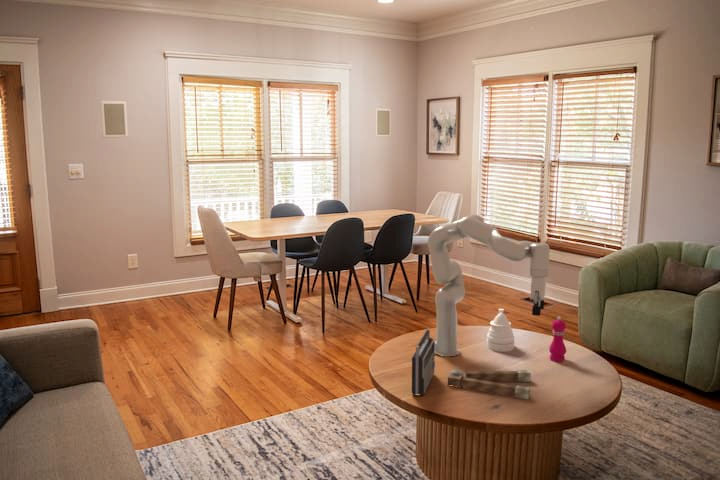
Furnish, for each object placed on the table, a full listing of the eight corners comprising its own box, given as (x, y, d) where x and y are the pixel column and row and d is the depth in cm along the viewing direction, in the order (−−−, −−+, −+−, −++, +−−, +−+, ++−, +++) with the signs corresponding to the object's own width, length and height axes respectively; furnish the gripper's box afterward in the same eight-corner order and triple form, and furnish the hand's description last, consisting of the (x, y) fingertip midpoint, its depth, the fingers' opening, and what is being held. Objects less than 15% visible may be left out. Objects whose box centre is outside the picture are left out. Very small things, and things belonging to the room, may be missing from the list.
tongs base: (446, 385, 246) (446, 376, 245) (452, 377, 253) (452, 368, 252) (528, 399, 232) (528, 389, 231) (531, 391, 239) (532, 382, 238)
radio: (425, 397, 235) (425, 348, 231) (411, 395, 236) (412, 347, 233) (436, 373, 258) (436, 328, 254) (423, 372, 259) (424, 327, 256)
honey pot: (485, 341, 296) (486, 306, 293) (512, 342, 294) (513, 307, 291) (487, 351, 284) (488, 314, 280) (515, 352, 282) (516, 314, 279)
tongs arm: (466, 381, 248) (467, 373, 247) (465, 378, 251) (465, 370, 250) (530, 381, 248) (530, 372, 247) (528, 378, 250) (529, 370, 250)
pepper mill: (563, 356, 275) (565, 314, 272) (567, 362, 268) (569, 319, 265) (547, 356, 276) (549, 314, 272) (550, 362, 269) (552, 319, 265)
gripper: (533, 267, 261) (532, 305, 264) (526, 276, 246) (525, 316, 249) (551, 268, 258) (549, 307, 261) (545, 277, 243) (544, 318, 246)
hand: (538, 312), depth 255 cm, fingers open, 9 cm apart
